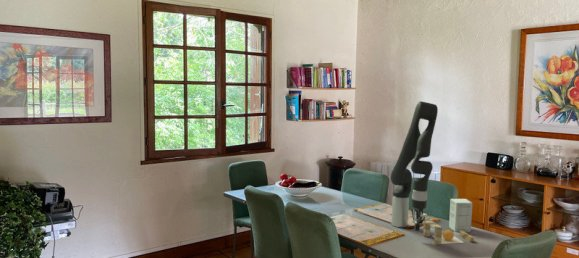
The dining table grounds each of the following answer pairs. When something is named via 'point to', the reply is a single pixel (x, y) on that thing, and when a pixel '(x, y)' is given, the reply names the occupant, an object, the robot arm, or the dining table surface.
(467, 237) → the stopper wall
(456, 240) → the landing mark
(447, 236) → the ball
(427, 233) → the bridge
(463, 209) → the supplement box
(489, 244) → the dining table surface
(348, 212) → the dining table surface
